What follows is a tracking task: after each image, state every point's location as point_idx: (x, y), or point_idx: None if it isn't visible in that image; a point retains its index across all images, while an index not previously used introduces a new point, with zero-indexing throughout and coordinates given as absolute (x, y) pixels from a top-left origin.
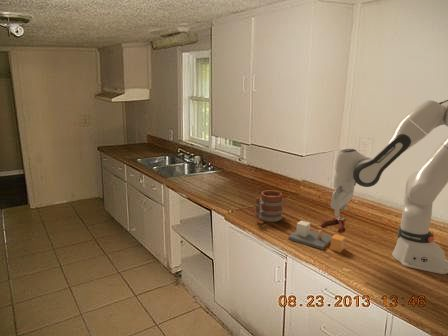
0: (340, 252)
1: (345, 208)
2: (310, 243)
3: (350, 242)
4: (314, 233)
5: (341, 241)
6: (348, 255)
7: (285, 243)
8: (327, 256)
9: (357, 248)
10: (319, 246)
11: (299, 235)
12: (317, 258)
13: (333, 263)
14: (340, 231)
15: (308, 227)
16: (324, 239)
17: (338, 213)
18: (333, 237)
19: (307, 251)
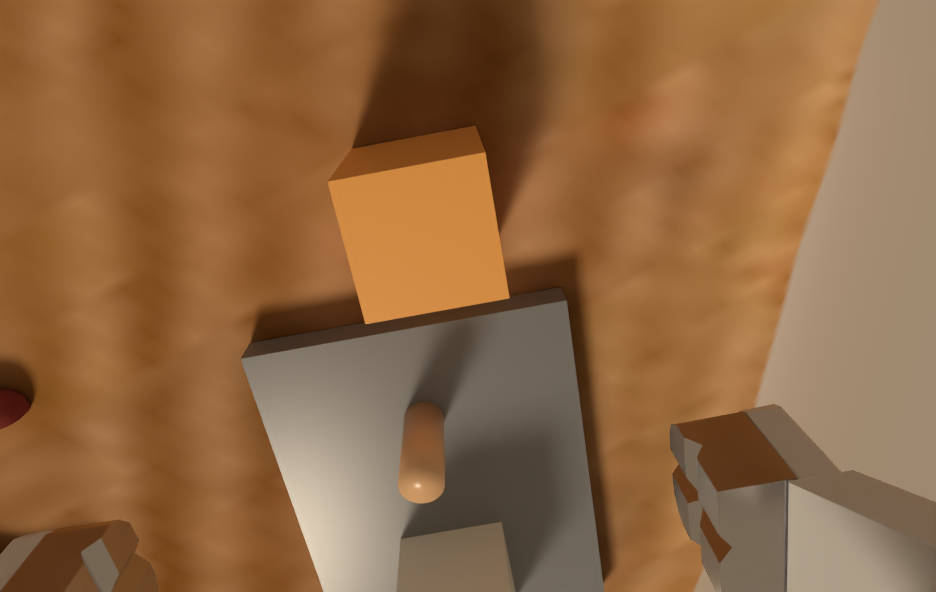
0: (475, 126)
1: (72, 565)
2: (582, 423)
3: (139, 177)
4: (351, 514)
5: (484, 153)
6: (467, 21)
7: (693, 557)
8: (663, 177)
9: (206, 34)
10: (570, 334)
11: (513, 569)
12: (773, 224)
13: (769, 47)
14: (8, 391)
15: None
16: (391, 383)
17: (832, 467)
18: (475, 283)
19: (701, 363)
